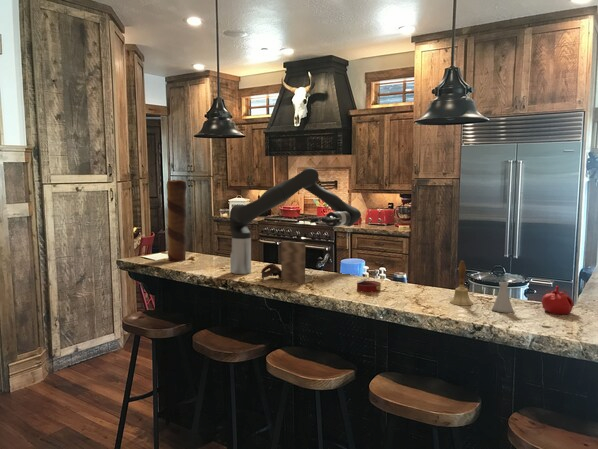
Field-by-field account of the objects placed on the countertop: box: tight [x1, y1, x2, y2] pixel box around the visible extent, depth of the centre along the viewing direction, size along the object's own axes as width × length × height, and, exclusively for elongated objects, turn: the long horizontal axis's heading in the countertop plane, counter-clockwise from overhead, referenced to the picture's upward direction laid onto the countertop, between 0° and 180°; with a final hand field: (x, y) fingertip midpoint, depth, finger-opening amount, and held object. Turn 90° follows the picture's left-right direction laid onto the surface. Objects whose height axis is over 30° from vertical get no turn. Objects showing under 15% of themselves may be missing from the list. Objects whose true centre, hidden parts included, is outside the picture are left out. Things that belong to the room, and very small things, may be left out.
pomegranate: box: [541, 285, 574, 315], centre depth 168 cm, size 10×10×9 cm
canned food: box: [356, 271, 382, 294], centre depth 201 cm, size 11×10×10 cm
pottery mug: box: [260, 263, 281, 280], centre depth 221 cm, size 12×10×8 cm
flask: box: [491, 281, 514, 314], centre depth 170 cm, size 7×7×10 cm
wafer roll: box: [166, 179, 187, 262], centre depth 269 cm, size 10×11×45 cm
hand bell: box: [449, 260, 474, 307], centre depth 180 cm, size 8×8×16 cm
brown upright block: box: [280, 240, 314, 285], centre depth 217 cm, size 12×9×18 cm
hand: (318, 221), depth 230 cm, fingers open, 8 cm apart
